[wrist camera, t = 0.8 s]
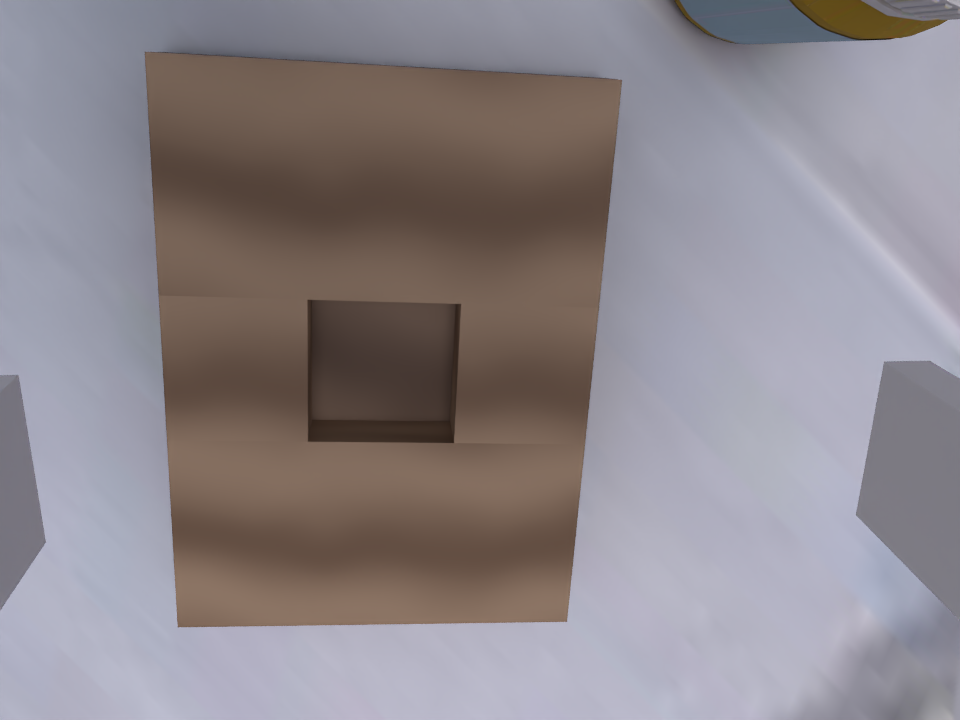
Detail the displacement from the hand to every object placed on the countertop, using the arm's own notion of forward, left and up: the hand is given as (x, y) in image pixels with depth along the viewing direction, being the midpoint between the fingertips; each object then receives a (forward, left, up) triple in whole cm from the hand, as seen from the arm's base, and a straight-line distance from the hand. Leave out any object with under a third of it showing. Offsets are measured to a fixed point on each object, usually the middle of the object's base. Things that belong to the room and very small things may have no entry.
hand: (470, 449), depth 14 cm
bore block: (+6, -1, -22) cm, 23 cm away
